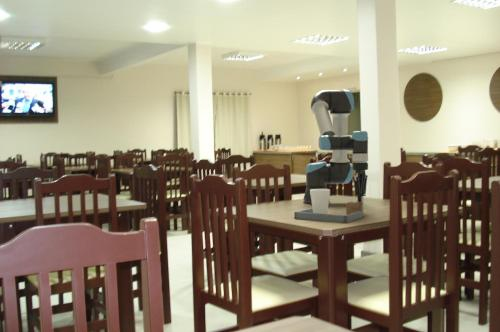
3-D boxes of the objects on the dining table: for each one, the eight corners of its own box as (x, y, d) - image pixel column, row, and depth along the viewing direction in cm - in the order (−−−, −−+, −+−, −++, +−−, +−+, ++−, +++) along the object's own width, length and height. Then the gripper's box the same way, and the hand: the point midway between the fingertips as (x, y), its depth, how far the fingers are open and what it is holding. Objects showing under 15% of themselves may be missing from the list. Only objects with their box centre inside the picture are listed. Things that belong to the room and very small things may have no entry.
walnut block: (351, 213, 268) (351, 201, 268) (362, 214, 265) (362, 202, 264) (346, 214, 263) (346, 202, 263) (357, 215, 260) (357, 203, 259)
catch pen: (314, 213, 270) (314, 207, 270) (363, 217, 255) (363, 210, 255) (294, 218, 255) (294, 212, 254) (345, 222, 239) (345, 216, 239)
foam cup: (313, 218, 253) (313, 191, 252) (307, 215, 262) (307, 189, 261) (333, 217, 255) (332, 190, 254) (326, 214, 264) (326, 188, 263)
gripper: (358, 161, 276) (359, 207, 277) (347, 162, 265) (348, 210, 266) (372, 161, 271) (372, 208, 272) (362, 162, 261) (362, 211, 262)
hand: (360, 209), depth 269 cm, fingers closed
